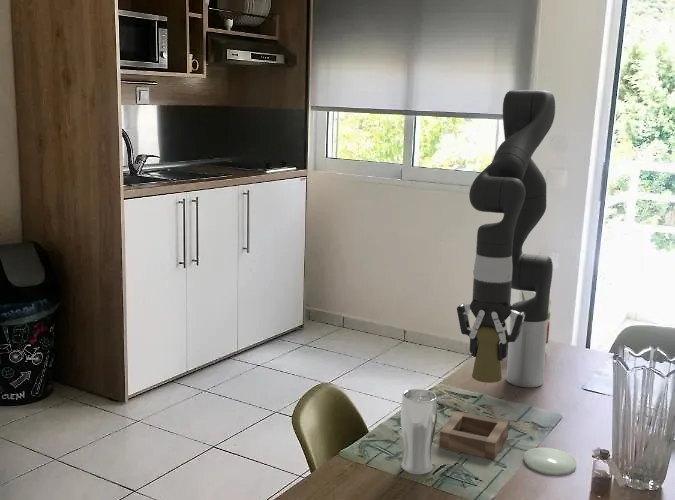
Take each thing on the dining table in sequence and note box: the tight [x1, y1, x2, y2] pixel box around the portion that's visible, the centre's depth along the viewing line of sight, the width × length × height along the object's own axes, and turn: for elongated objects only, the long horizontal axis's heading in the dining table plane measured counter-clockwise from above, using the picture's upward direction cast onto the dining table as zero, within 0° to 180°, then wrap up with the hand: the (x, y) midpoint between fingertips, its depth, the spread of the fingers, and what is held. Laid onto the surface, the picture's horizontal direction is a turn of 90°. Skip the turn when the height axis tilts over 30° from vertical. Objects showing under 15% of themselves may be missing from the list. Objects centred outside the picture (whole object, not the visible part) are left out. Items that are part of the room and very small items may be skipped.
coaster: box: [523, 447, 577, 476], centre depth 148 cm, size 10×10×1 cm
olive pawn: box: [471, 325, 503, 384], centre depth 151 cm, size 6×6×11 cm
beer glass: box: [400, 388, 438, 475], centre depth 144 cm, size 7×7×15 cm
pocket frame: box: [438, 410, 510, 460], centre depth 156 cm, size 12×12×4 cm
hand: (488, 356), depth 152 cm, fingers closed on olive pawn, 5 cm apart
